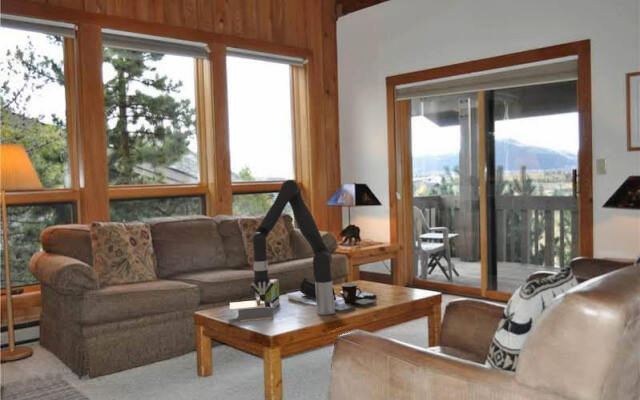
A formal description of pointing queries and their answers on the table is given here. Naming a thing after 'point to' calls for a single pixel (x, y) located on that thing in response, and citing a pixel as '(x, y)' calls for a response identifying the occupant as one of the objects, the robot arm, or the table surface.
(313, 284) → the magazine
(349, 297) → the coffee mug
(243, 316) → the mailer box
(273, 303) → the tea box
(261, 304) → the lid
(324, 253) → the robot arm
